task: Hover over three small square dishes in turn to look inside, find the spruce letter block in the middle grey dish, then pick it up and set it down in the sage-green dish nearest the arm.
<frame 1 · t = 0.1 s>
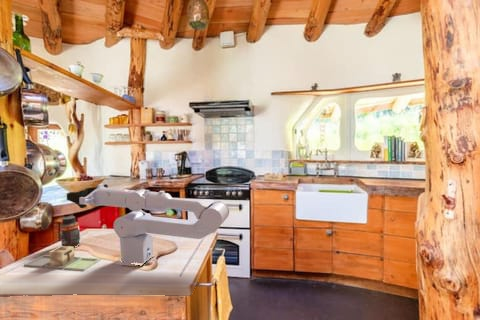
hand: (77, 193, 90), 22 cm above the counter, tool horizontal, fingers open, 7 cm apart
green dish: (83, 265, 85), on the counter
supplement bottle: (71, 247, 101), on the counter
middle dish: (63, 264, 87), on the counter
far dish: (43, 262, 88), on the counter
letter block: (62, 262, 87), resting on middle dish
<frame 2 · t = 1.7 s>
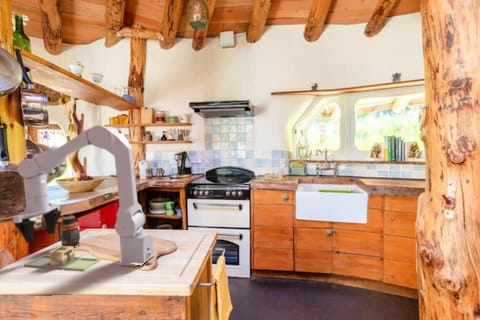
hand: (41, 237, 88), 8 cm above the counter, tool pointing down, fingers open, 7 cm apart
nothing on the counter moved.
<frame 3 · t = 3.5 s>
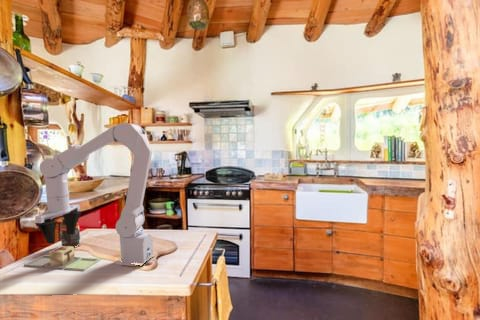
hand: (61, 238, 86), 9 cm above the counter, tool pointing down, fingers open, 7 cm apart
nothing on the counter moved.
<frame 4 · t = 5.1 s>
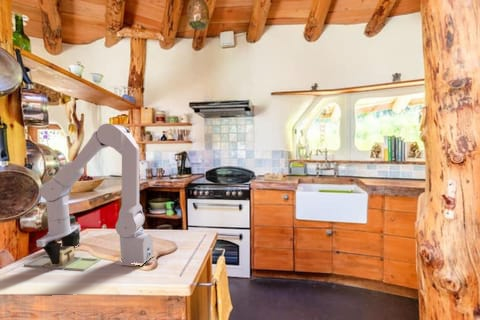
hand: (62, 259, 87), 1 cm above the counter, tool pointing down, fingers closed on letter block, 5 cm apart
letter block: (62, 262, 87), resting on middle dish, touching gripper
everything else where it was.
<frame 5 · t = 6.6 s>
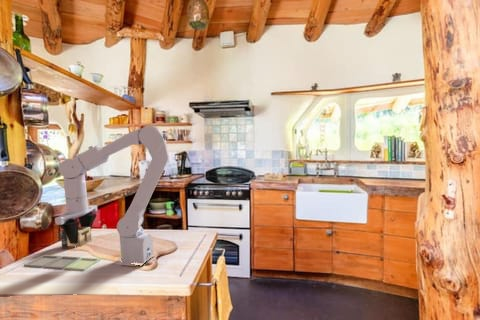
hand: (80, 239, 85), 8 cm above the counter, tool pointing down, fingers closed on letter block, 5 cm apart
letter block: (79, 243, 85), point 7 cm above the counter, touching gripper
everything else where it was.
when the fingers open (3 cm above the counter, at t = 8.2 s): letter block drops 1 cm, resting on green dish.
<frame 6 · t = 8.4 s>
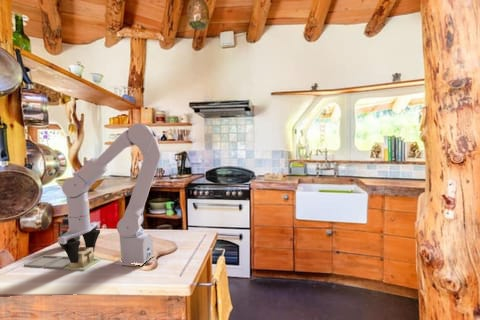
hand: (82, 257, 85), 3 cm above the counter, tool pointing down, fingers open, 6 cm apart
letter block: (82, 264, 85), resting on green dish
everything else where it was.
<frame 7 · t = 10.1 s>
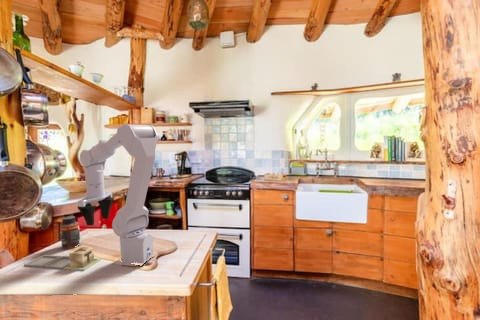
hand: (98, 221, 96), 10 cm above the counter, tool pointing down, fingers open, 7 cm apart
nothing on the counter moved.
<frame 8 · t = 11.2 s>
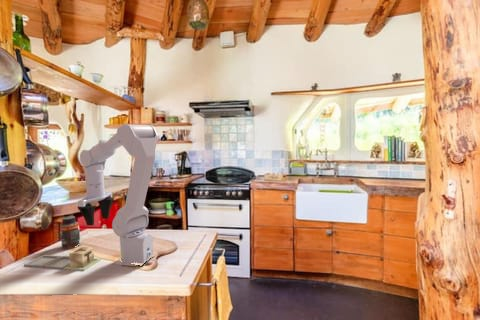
hand: (98, 221, 96), 10 cm above the counter, tool pointing down, fingers open, 7 cm apart
nothing on the counter moved.
at the end: letter block 0.3 cm off-centre on the green dish, point 0.4 cm above the green dish's base; the gripper is holding nothing; letter block tilted 0° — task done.
